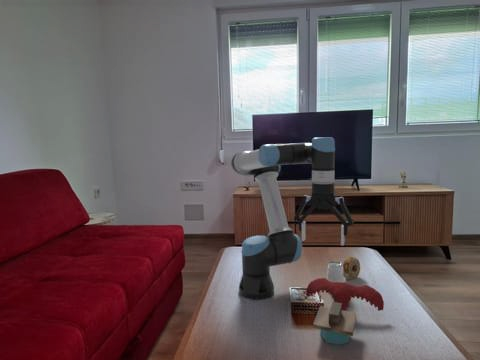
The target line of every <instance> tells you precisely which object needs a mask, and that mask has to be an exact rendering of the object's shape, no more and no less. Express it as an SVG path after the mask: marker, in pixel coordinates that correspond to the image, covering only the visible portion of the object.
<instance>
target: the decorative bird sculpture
mask: <svg viewBox="0 0 480 360" xmlns="http://www.w3.org/2000/svg"><path fill="white" fill-rule="evenodd" d="M305 291H306V292H305V295H306V296H307V297H308V298H310V296H313V295H316V294H317V293H318V294H319V293H320V292H321V293H323V294H324V292H325V293H326V294H330V295H332V298H333V302H337V303H342V310H344V311H348V308H349V307H350V306H349V305H350V302H351V300H352V299H355V298H356V299H357V300H358V299H360V300H361V301H363V300H364V299H365V301H366V303H369V304H370V306H374V308H377V311H379V312H380V311H384V305H385V303H384V302H385V301H384V298H383V296H382V294H381V293H380V292H379V291H377V290H376V289H375V288H373V287H371V286H369V285H367V284H363V285H359V286H358V285H357V286H356V285H352V284H350V283H347V282H345V281H343V282H330V281H328V280H327V278H325V277H321V278H316V279H313V280H311V281H310V282H309V284H308V285H307V287H306V290H305Z"/></svg>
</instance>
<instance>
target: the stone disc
mask: <svg viewBox="0 0 480 360" xmlns="http://www.w3.org/2000/svg"><path fill="white" fill-rule="evenodd" d="M342 266H343V278H344V279H346V280H351V281H352V280H355V279H356V278H358V276H359V275H360V271H361V263H360V261H359V259H358V258H357V257H355V256H348V257H347V258H345V259H344V261H343V263H342Z"/></svg>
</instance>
